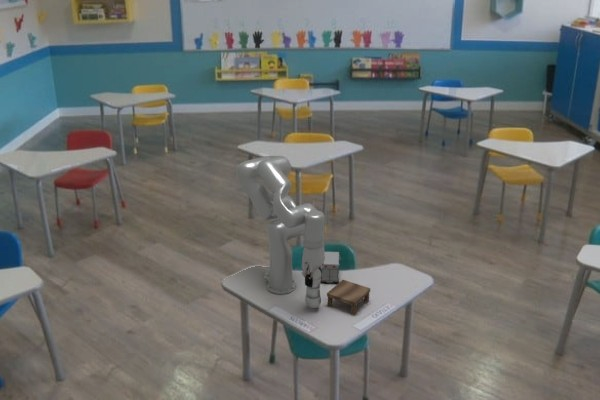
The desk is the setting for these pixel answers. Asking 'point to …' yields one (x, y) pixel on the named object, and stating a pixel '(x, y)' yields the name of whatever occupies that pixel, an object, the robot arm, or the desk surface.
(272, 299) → the desk surface
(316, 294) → the plastic bottle
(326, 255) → the toy vehicle
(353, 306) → the walnut stand
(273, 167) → the robot arm
